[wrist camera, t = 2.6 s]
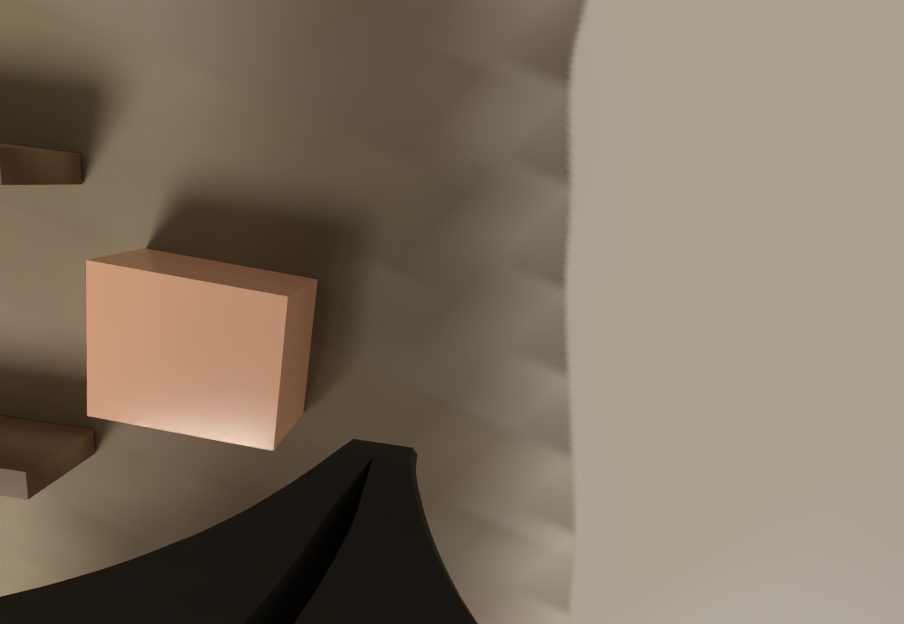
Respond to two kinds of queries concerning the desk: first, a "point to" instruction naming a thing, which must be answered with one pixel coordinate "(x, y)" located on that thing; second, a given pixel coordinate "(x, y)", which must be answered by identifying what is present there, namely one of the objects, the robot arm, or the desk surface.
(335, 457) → the robot arm
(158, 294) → the salmon pink block
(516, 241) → the desk surface
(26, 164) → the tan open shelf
